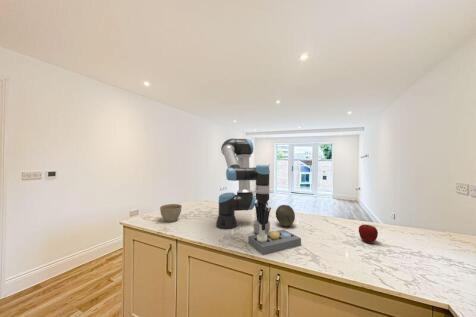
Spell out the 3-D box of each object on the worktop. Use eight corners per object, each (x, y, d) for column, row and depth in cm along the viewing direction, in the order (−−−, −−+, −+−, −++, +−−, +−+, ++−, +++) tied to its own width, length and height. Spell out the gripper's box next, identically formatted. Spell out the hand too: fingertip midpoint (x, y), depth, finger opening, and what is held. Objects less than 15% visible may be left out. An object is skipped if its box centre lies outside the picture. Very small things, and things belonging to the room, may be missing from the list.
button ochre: (267, 238, 113) (267, 231, 113) (275, 237, 115) (275, 230, 115) (273, 242, 108) (273, 235, 108) (281, 240, 110) (281, 233, 110)
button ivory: (255, 241, 109) (255, 234, 109) (263, 240, 112) (263, 233, 112) (260, 245, 104) (260, 238, 104) (269, 243, 107) (269, 236, 107)
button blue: (279, 239, 117) (279, 232, 117) (286, 237, 119) (286, 231, 119) (285, 243, 112) (285, 236, 112) (292, 241, 114) (293, 234, 114)
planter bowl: (155, 223, 146) (155, 208, 146) (166, 216, 162) (166, 203, 162) (175, 224, 143) (175, 209, 143) (185, 217, 159) (185, 204, 159)
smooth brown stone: (297, 224, 145) (297, 204, 145) (291, 230, 133) (291, 208, 133) (279, 221, 153) (279, 202, 153) (272, 226, 141) (272, 205, 141)
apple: (360, 237, 123) (361, 221, 123) (379, 241, 116) (379, 225, 116) (356, 241, 116) (356, 224, 116) (375, 246, 110) (376, 229, 110)
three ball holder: (248, 243, 113) (248, 236, 113) (283, 235, 124) (283, 229, 124) (262, 254, 99) (262, 247, 99) (301, 245, 111) (301, 238, 111)
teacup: (269, 237, 121) (269, 224, 121) (252, 235, 123) (252, 223, 123) (270, 229, 135) (270, 217, 135) (254, 228, 137) (254, 216, 137)
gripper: (250, 191, 112) (250, 232, 112) (263, 195, 100) (262, 241, 100) (261, 190, 115) (261, 230, 115) (275, 194, 104) (274, 238, 104)
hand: (262, 235), depth 108 cm, fingers closed
